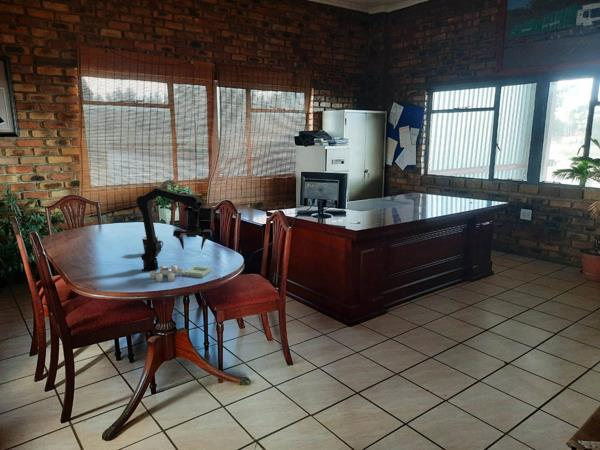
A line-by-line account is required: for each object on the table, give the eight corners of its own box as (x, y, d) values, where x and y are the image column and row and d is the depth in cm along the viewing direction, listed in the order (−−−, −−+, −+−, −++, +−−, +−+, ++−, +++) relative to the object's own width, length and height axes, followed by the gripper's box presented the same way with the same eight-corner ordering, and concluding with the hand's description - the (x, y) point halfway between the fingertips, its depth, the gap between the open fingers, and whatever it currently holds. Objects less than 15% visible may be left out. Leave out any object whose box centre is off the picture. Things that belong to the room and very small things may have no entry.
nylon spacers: (145, 280, 216) (145, 273, 215) (164, 270, 232) (164, 263, 231) (169, 283, 213) (169, 276, 212) (187, 273, 229) (187, 266, 228)
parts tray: (184, 275, 224) (184, 271, 224) (194, 270, 234) (194, 266, 233) (202, 277, 222) (202, 273, 221) (211, 272, 231) (211, 268, 231)
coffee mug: (139, 254, 259) (139, 238, 257) (151, 251, 266) (151, 235, 264) (152, 258, 253) (152, 241, 251) (164, 254, 260) (164, 238, 258)
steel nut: (159, 277, 221) (159, 269, 220) (165, 274, 225) (165, 267, 225) (168, 278, 219) (168, 271, 219) (174, 275, 224) (174, 268, 223)
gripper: (171, 222, 215) (171, 253, 219) (210, 223, 218) (210, 254, 221) (174, 217, 226) (174, 247, 229) (211, 218, 229) (211, 248, 232)
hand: (192, 249), depth 228 cm, fingers open, 9 cm apart
